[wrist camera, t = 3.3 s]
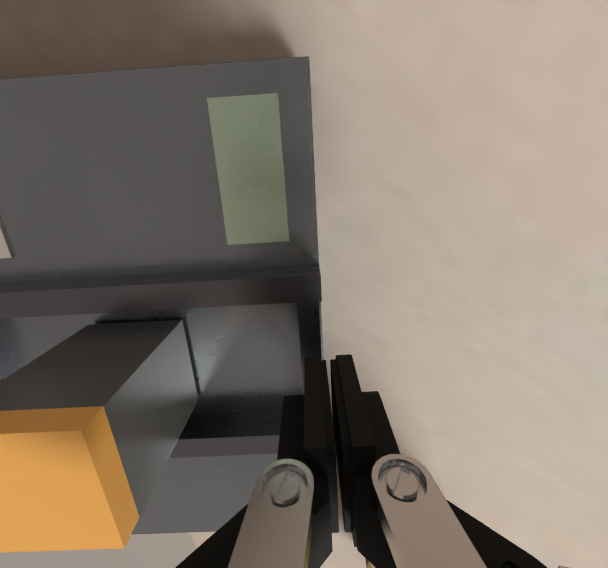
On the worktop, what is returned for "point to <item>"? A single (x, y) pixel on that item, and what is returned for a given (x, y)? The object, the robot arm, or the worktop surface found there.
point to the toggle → (91, 434)
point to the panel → (171, 247)
